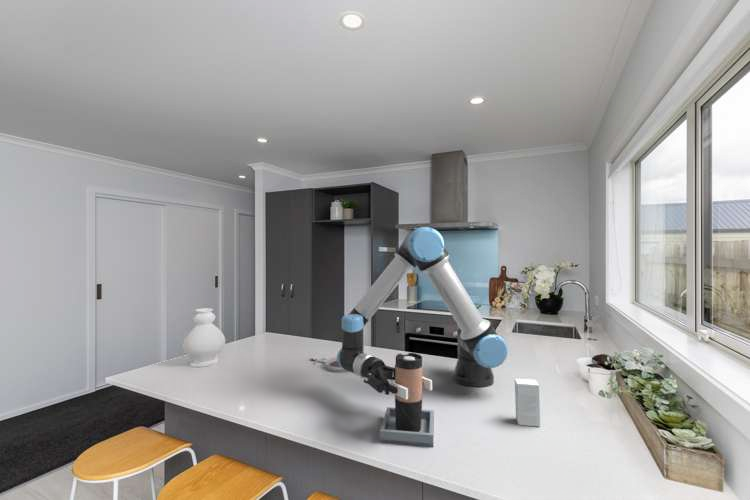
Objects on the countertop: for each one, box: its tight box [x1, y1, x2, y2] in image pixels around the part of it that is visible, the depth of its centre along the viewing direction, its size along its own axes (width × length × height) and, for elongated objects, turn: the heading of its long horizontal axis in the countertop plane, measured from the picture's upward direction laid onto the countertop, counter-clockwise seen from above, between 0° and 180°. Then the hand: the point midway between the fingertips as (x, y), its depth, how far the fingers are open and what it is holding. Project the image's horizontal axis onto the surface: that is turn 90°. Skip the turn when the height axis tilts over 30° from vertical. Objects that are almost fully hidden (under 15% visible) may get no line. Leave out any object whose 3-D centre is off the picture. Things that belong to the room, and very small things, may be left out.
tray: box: [379, 406, 435, 448], centre depth 96 cm, size 14×14×3 cm
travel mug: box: [394, 352, 423, 432], centre depth 96 cm, size 8×8×20 cm
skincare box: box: [514, 378, 541, 428], centre depth 99 cm, size 6×4×12 cm
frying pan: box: [308, 356, 350, 374], centre depth 154 cm, size 17×3×28 cm
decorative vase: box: [182, 307, 226, 368], centre depth 159 cm, size 18×18×25 cm
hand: (419, 389), depth 92 cm, fingers open, 8 cm apart
